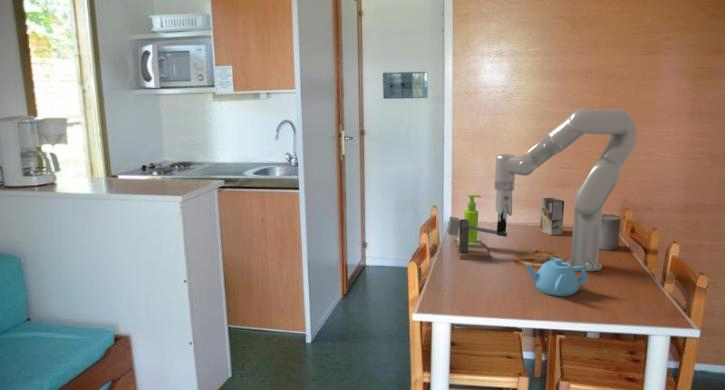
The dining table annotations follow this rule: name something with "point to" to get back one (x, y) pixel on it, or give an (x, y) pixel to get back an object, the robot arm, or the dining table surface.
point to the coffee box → (552, 216)
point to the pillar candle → (609, 232)
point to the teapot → (558, 277)
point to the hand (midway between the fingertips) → (501, 230)
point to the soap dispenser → (472, 218)
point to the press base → (469, 245)
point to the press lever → (455, 225)
